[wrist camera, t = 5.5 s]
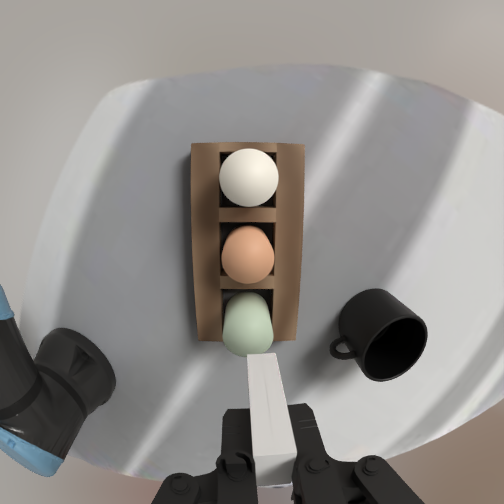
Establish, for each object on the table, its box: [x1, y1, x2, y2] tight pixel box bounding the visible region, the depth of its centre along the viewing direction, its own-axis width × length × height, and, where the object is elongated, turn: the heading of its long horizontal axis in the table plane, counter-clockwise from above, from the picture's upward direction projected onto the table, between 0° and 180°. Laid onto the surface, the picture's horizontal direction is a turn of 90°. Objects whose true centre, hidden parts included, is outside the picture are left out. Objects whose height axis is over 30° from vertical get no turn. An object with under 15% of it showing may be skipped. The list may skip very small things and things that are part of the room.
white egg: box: [219, 149, 278, 207], centre depth 25 cm, size 5×5×6 cm
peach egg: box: [221, 224, 274, 284], centre depth 29 cm, size 5×5×6 cm
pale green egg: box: [223, 291, 273, 357], centre depth 29 cm, size 5×5×6 cm
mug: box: [330, 289, 428, 382], centre depth 31 cm, size 9×12×9 cm
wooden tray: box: [191, 142, 305, 341], centre depth 31 cm, size 12×23×3 cm, turn 0°
